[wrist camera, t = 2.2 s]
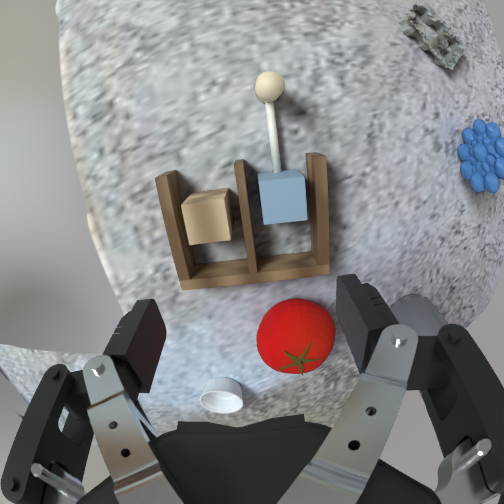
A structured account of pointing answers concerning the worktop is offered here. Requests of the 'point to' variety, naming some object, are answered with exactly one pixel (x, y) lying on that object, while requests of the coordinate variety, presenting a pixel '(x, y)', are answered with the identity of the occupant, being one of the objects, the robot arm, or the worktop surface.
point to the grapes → (482, 156)
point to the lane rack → (248, 236)
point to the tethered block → (278, 165)
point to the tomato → (295, 336)
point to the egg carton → (438, 42)
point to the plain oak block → (208, 216)
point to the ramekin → (221, 395)
